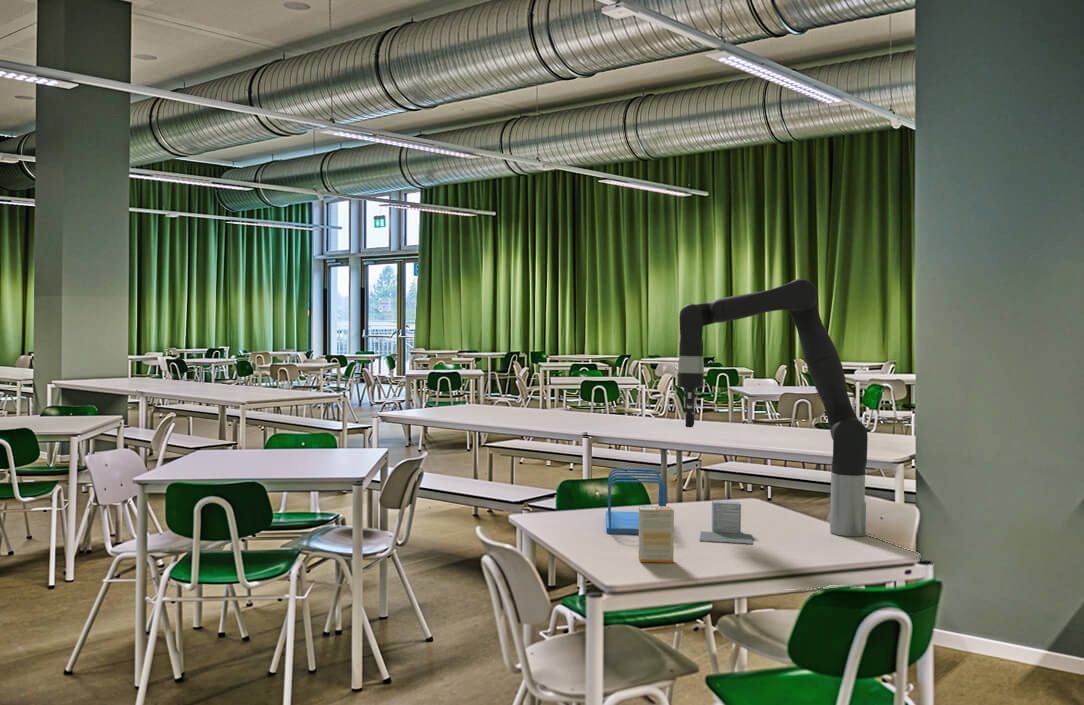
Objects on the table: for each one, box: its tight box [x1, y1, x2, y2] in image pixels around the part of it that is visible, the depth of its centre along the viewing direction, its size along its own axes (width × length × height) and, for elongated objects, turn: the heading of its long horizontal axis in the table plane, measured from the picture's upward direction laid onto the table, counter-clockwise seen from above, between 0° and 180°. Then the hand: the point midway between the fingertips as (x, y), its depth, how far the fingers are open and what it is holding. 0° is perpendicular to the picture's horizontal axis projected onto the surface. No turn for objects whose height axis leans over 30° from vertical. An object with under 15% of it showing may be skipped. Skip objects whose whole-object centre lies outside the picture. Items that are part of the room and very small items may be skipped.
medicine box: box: [711, 500, 742, 534], centre depth 250 cm, size 8×4×9 cm, turn 84°
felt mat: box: [699, 530, 754, 545], centre depth 242 cm, size 14×12×1 cm
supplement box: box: [638, 505, 675, 564], centre depth 214 cm, size 8×5×13 cm, turn 88°
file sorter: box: [605, 468, 667, 535], centre depth 257 cm, size 25×17×15 cm
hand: (689, 426), depth 260 cm, fingers open, 8 cm apart
